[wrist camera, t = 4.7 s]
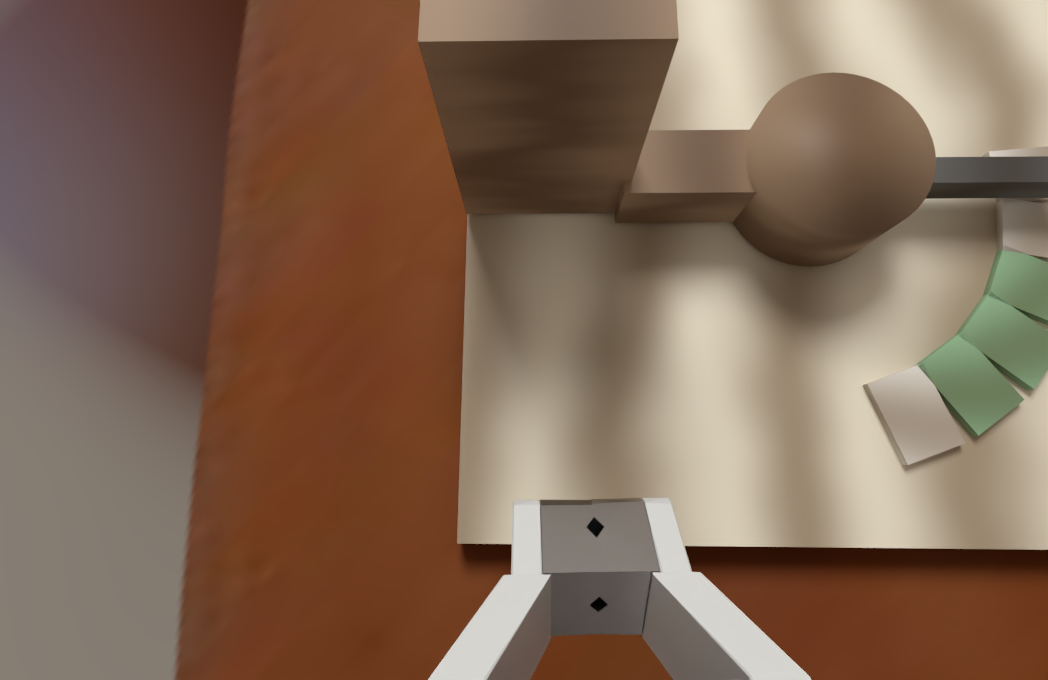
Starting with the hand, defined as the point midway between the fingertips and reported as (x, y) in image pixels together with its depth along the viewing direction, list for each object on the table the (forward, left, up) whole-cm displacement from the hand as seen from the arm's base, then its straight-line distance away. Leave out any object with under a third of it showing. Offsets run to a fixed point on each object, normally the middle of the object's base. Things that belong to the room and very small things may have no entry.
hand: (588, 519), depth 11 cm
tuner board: (+14, +6, -10) cm, 18 cm away
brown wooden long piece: (+12, +7, -9) cm, 16 cm away
